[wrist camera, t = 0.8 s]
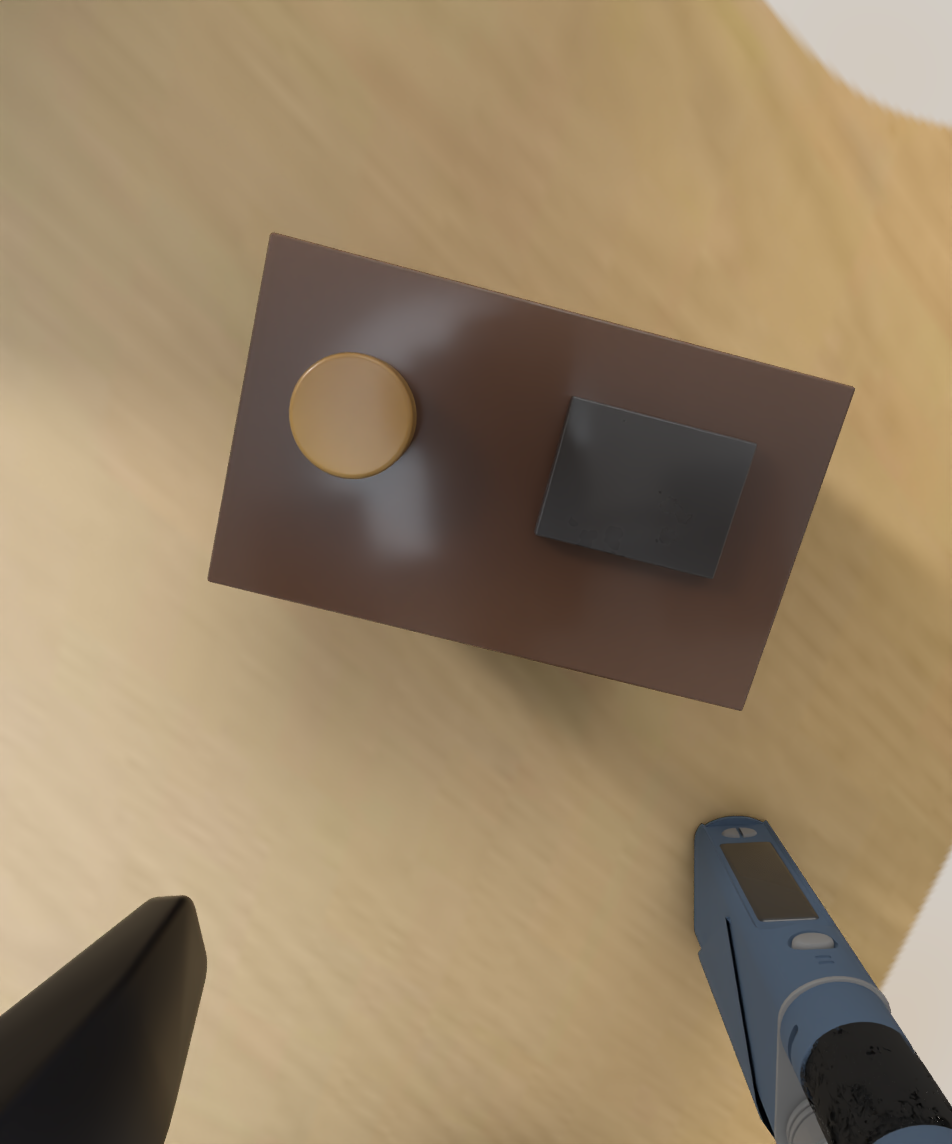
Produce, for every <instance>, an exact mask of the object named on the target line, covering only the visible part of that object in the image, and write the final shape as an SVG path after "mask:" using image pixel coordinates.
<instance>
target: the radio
mask: <svg viewBox="0 0 952 1144" xmlns="http://www.w3.org/2000/svg"><path fill="white" fill-rule="evenodd" d="M854 391H855V388H854V387H853V386H849V385H845V384H841V383H838V382H834V381H830V380H826V379H822V378H819V377H815V376H811V375H807V374H804V373H800V372H796V371H792V370H789V369H785V368H781V367H777V366H774V365H770V364H766V363H762V362H759V361H755V360H751V359H747V358H744V357H740V356H736V355H732V354H729V353H725V352H721V351H717V350H714V349H710V348H706V347H702V346H699V345H695V344H691V343H687V342H684V341H680V340H676V339H672V338H668V337H665V336H661V335H657V334H653V333H650V332H646V331H642V330H638V329H635V328H631V327H627V326H623V325H620V324H616V323H612V322H608V321H605V320H601V319H597V318H593V317H590V316H586V315H582V314H578V313H575V312H571V311H567V310H563V309H560V308H556V307H552V306H548V305H545V304H541V303H537V302H533V301H530V300H526V299H522V298H518V297H514V296H511V295H507V294H503V293H499V292H496V291H492V290H488V289H484V288H481V287H477V286H473V285H469V284H466V283H462V282H458V281H454V280H451V279H447V278H443V277H439V276H436V275H432V274H428V273H424V272H421V271H417V270H413V269H409V268H406V267H402V266H398V265H394V264H391V263H387V262H383V261H379V260H376V259H372V258H368V257H364V256H361V255H357V254H353V253H349V252H345V251H342V250H338V249H334V248H330V247H327V246H323V245H319V244H315V243H312V242H308V241H304V240H300V239H297V238H293V237H289V236H285V235H282V234H278V233H271V234H270V238H269V243H268V249H267V254H266V260H265V265H264V271H263V276H262V282H261V287H260V292H259V298H258V303H257V309H256V314H255V320H254V325H253V331H252V336H251V342H250V347H249V353H248V358H247V364H246V369H245V375H244V380H243V386H242V391H241V397H240V402H239V408H238V413H237V419H236V424H235V430H234V435H233V441H232V446H231V452H230V457H229V463H228V468H227V474H226V479H225V485H224V490H223V496H222V501H221V507H220V512H219V518H218V523H217V529H216V534H215V540H214V545H213V551H212V556H211V562H210V567H209V573H208V581H210V582H213V583H217V584H221V585H225V586H229V587H233V588H238V589H242V590H246V591H250V592H254V593H258V594H262V595H266V596H270V597H275V598H279V599H283V600H287V601H291V602H295V603H299V604H303V605H307V606H312V607H316V608H320V609H324V610H328V611H332V612H336V613H340V614H344V615H348V616H353V617H357V618H361V619H365V620H369V621H373V622H377V623H381V624H385V625H390V626H394V627H398V628H402V629H406V630H410V631H414V632H418V633H422V634H427V635H431V636H435V637H439V638H443V639H447V640H451V641H455V642H459V643H464V644H468V645H472V646H476V647H480V648H484V649H488V650H492V651H496V652H500V653H505V654H509V655H513V656H517V657H521V658H525V659H529V660H533V661H537V662H542V663H546V664H550V665H554V666H558V667H562V668H566V669H570V670H574V671H579V672H583V673H587V674H591V675H595V676H599V677H603V678H607V679H611V680H616V681H620V682H624V683H628V684H632V685H636V686H640V687H644V688H648V689H652V690H657V691H661V692H665V693H669V694H673V695H677V696H681V697H685V698H689V699H694V700H698V701H702V702H706V703H710V704H714V705H718V706H722V707H726V708H731V709H735V710H739V711H741V710H742V709H743V707H744V704H745V701H746V698H747V695H748V692H749V690H750V687H751V684H752V681H753V678H754V675H755V673H756V670H757V667H758V664H759V661H760V658H761V656H762V653H763V650H764V647H765V644H766V641H767V638H768V636H769V633H770V630H771V627H772V624H773V621H774V619H775V616H776V613H777V610H778V607H779V604H780V601H781V599H782V596H783V593H784V590H785V587H786V584H787V582H788V579H789V576H790V573H791V570H792V567H793V565H794V562H795V559H796V556H797V553H798V550H799V547H800V545H801V542H802V539H803V536H804V533H805V530H806V528H807V525H808V522H809V519H810V516H811V513H812V510H813V508H814V505H815V502H816V499H817V496H818V493H819V491H820V488H821V485H822V482H823V479H824V476H825V474H826V471H827V468H828V465H829V462H830V459H831V456H832V454H833V451H834V448H835V445H836V442H837V439H838V437H839V434H840V431H841V428H842V425H843V422H844V419H845V417H846V414H847V411H848V408H849V405H850V402H851V400H852V397H853V394H854Z"/></svg>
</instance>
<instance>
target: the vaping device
mask: <svg viewBox="0 0 952 1144" xmlns="http://www.w3.org/2000/svg"><path fill="white" fill-rule="evenodd" d="M694 930H695V934H696V937H697V939H698V942H699V944H700V947H701V950H700V951H699V952H698V955H699V959H700V962H701V965H702V967H703V970H704V973H705V975H706V978H707V980H708V983H709V986H710V988H711V991H712V993H713V996H714V999H715V1001H716V1004H717V1006H718V1009H719V1012H720V1014H721V1017H722V1020H723V1022H724V1025H725V1027H726V1030H727V1033H728V1035H729V1038H730V1040H731V1043H732V1046H733V1048H734V1051H735V1053H736V1056H737V1059H738V1061H739V1064H740V1067H741V1069H742V1072H743V1074H744V1077H745V1080H746V1082H747V1085H748V1087H749V1090H750V1093H751V1095H752V1098H753V1100H754V1103H755V1106H756V1108H757V1111H758V1114H759V1116H760V1118H761V1120H762V1121H763V1123H764V1124H765V1126H766V1127H767V1129H768V1130H769V1131H770V1133H771V1134H772V1136H773V1137H774V1138H775V1141H776V1143H777V1144H952V1106H951V1105H950V1103H949V1102H948V1100H947V1099H946V1097H945V1096H944V1094H943V1093H942V1091H941V1090H940V1088H939V1087H938V1085H937V1084H936V1082H935V1081H934V1080H933V1078H932V1076H931V1074H930V1073H929V1071H928V1070H927V1068H926V1067H925V1065H924V1064H923V1062H921V1060H920V1058H919V1057H918V1055H917V1053H916V1052H915V1053H914V1050H913V1048H912V1046H911V1044H910V1043H909V1041H908V1039H907V1038H906V1036H905V1035H904V1033H903V1032H902V1030H901V1029H900V1027H899V1026H898V1024H897V1023H896V1021H895V1020H894V1018H893V1017H892V1015H891V1009H890V1006H889V1003H888V1001H887V999H886V998H885V996H884V995H883V994H882V992H881V991H880V990H879V989H878V988H877V986H876V985H875V983H874V982H873V980H872V979H871V977H870V976H869V974H868V973H867V971H866V970H865V968H864V967H863V965H862V964H861V962H860V961H859V959H858V958H857V956H856V955H855V953H854V952H853V950H852V949H851V947H850V946H849V944H848V943H847V941H846V940H845V938H844V937H843V935H842V934H841V932H840V930H839V929H838V927H837V926H836V924H835V923H834V921H833V920H832V918H831V917H830V915H829V914H828V912H827V911H826V909H825V908H824V906H823V905H822V903H821V902H820V900H819V899H818V897H817V896H816V894H815V893H814V891H813V890H812V888H811V887H810V885H809V884H808V882H807V881H806V879H805V878H804V876H803V875H802V873H801V872H800V870H799V869H798V867H797V866H796V864H795V863H794V861H793V860H792V858H791V857H790V855H789V853H788V852H787V850H786V849H785V847H784V846H783V844H782V843H781V841H780V840H779V838H778V837H777V835H776V834H775V832H774V831H773V829H772V828H771V826H770V825H769V823H768V822H767V821H766V820H765V821H764V822H761V821H759V820H757V819H754V818H750V817H744V816H730V817H723V818H719V819H716V820H713V821H711V822H709V823H707V824H706V825H704V824H702V823H701V824H700V826H699V827H698V829H697V831H696V834H695V840H694ZM937 1090H938V1091H939V1092H938V1091H937ZM950 1111H951V1112H950ZM938 1117H939V1118H940V1119H939V1118H938ZM942 1120H943V1121H942ZM937 1121H938V1122H937Z"/></svg>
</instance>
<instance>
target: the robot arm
mask: <svg viewBox="0 0 952 1144" xmlns="http://www.w3.org/2000/svg"><path fill="white" fill-rule="evenodd" d="M206 972H207V956H206V951H205V947H204V942H203V938H202V934H201V930H200V926H199V922H198V917H197V913H196V909H195V906H194V903H193V901H192V900H191V899H190V898H189V897H187V896H184V895H180V896H165V897H155V898H152V899H149V900H148V901H147V902H145V903H144V904H142V905H141V906H140V907H139V908H137V909H136V910H135V911H134V912H132V913H131V914H130V915H128V916H127V917H126V918H125V919H123V920H122V921H121V922H120V923H118V924H117V925H116V926H114V927H113V928H112V929H111V930H109V931H108V932H107V933H106V934H104V935H103V936H102V937H100V938H99V939H98V940H97V941H95V942H94V943H93V944H92V945H90V946H89V947H88V948H86V949H85V950H84V951H83V952H81V953H80V954H79V955H78V956H76V957H75V958H74V959H72V960H71V961H70V962H69V963H67V964H66V965H65V966H64V967H62V968H61V969H60V970H58V971H57V972H56V973H55V974H53V975H52V976H51V977H50V978H48V979H47V980H46V981H44V982H43V983H42V984H41V985H39V986H38V987H37V988H36V989H34V990H33V991H32V992H30V993H29V994H28V995H27V996H25V997H24V998H23V999H22V1000H20V1001H19V1002H18V1003H16V1004H15V1005H14V1006H13V1007H11V1008H10V1009H9V1010H8V1011H6V1012H5V1013H4V1014H2V1015H1V1016H0V1144H164V1141H165V1138H166V1135H167V1132H168V1129H169V1126H170V1122H171V1118H172V1115H173V1111H174V1107H175V1103H176V1099H177V1095H178V1091H179V1087H180V1083H181V1079H182V1074H183V1070H184V1066H185V1062H186V1058H187V1054H188V1050H189V1045H190V1041H191V1037H192V1033H193V1029H194V1025H195V1021H196V1016H197V1012H198V1008H199V1004H200V1000H201V996H202V991H203V987H204V983H205V979H206Z"/></svg>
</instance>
